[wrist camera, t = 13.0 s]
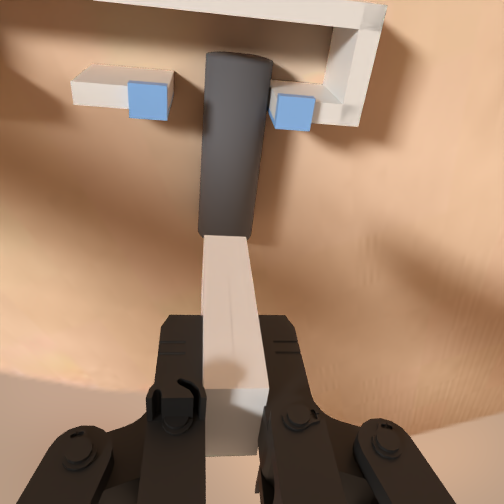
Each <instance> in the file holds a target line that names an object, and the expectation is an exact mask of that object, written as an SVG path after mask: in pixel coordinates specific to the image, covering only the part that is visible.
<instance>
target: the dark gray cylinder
mask: <svg viewBox="0 0 504 504" xmlns="http://www.w3.org/2000/svg"><path fill="white" fill-rule="evenodd" d="M272 67H273V61H272V60H270V59H267V58H264V57H261V56H256V55H251V54H242V53H233V52H209V53H207V54H206V69H205V90H204V112H203V133H202V155H201V177H200V198H199V220H198V232H199V234H200V235H201V236H202V237H203V238H204V235H213V236H239V237H246V239H247V240H248V239H249V238H250V236H251V231H252V223H253V215H254V207H255V199H256V192H257V184H258V176H259V168H260V160H261V153H262V145H263V137H264V129H265V121H266V114H267V106H268V98H269V90H270V82H271V75H272Z"/></svg>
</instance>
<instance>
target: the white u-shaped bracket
mask: <svg viewBox="0 0 504 504" xmlns="http://www.w3.org/2000/svg"><path fill="white" fill-rule="evenodd" d="M95 1H104V2H114V3H123V4H132V5H141V6H150V7H159V8H169V9H178V10H187V11H196V12H205V13H214V14H224V15H233V16H242V17H251V18H260V19H269V20H278V21H288V22H297V23H306V24H315V25H324V26H333V27H334V28H333V33H332V38H331V44H330V49H329V54H328V60H327V65H326V71H325V76H324V81H323V84H315V83H304V82H292V81H281V80H271V82H270V90H269V98H268V106H267V111H268V113H269V115H270V118H271V120H272V122H273V125H274V127H275V129H285V130H298V131H310V127H311V123H316V124H329V125H342V126H354V127H358V125H359V121H360V117H361V113H362V109H363V105H364V101H365V97H366V92H367V88H368V84H369V80H370V76H371V72H372V68H373V64H374V59H375V55H376V51H377V47H378V43H379V39H380V35H381V31H382V26H383V22H384V18H385V14H386V10H387V6H388V5H384V4H379V3H374V2H369V1H364V0H95ZM70 82H71V89H72V97H73V105H84V106H97V107H110V108H123V109H129V118H138V119H151V120H165V121H167V119H168V115H169V112H170V108H171V104H172V100H173V96H174V71H171V70H160V69H149V68H138V67H126V66H115V65H104V64H93V63H92V64H91V65H90V66H88V67H87V68H86V69H85V70H83V71H82V72H81V73H80V74H79V75H77V76H76V77H75V78H74V79H73V80H71V81H70Z"/></svg>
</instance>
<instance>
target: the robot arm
mask: <svg viewBox="0 0 504 504" xmlns="http://www.w3.org/2000/svg"><path fill="white" fill-rule="evenodd" d="M146 411H147V412H146V413H145V414H144V415H143V416H142V417H141V418H140V419H138V420H137V421H135V422H134V423H132V424H130V425H127V426H125V427H122V428H119V429H116V430H113V431H110V432H105V431H104V430H103V429H100V428H98V427H95V426H79V427H76V428H72V429H70V430H68V431H67V432H65V433H64V434H62V435H60V436H59V437H58V438H57V439H56V440H55V441H54V443H53V444H52V445H51V446H50V447H49V449H48V451H47V452H46V454H45V456H44V457H43V459H42V461H41V463H40V464H39V466H38V468H37V469H36V471H35V473H34V474H33V476H32V478H31V479H30V481H29V483H28V485H27V486H26V488H25V490H24V491H23V493H22V495H21V496H20V498H19V500H18V502H17V503H16V504H206V499H205V498H206V497H205V496H206V493H205V492H206V485H205V483H206V481H205V479H206V475H205V457H214V456H245V455H257V449H259V458H260V466H259V471H258V476H257V481H256V488H255V493H259V492H260V502H261V504H456V503H455V502H454V500H453V498H452V497H451V496H450V494H449V493H448V491H447V490H446V488H445V487H444V485H443V484H442V482H441V481H440V480H439V478H438V477H437V475H436V474H435V472H434V471H433V469H432V468H431V467H430V465H429V464H428V462H427V461H426V459H425V458H424V456H423V455H422V454H421V452H420V451H419V449H418V448H417V446H416V445H415V444H414V442H413V440H412V439H411V437H410V436H409V435H408V434H407V433H406V432H405V431H404V430H403V428H401V427H400V426H398V425H397V424H395V423H393V422H392V421H388V420H385V419H381V418H379V419H370V420H368V421H366V422H365V423H363V424H362V426H361V427H358V426H355V425H351V424H348V423H344V422H341V421H338V420H336V419H333V418H331V417H329V416H328V415H326V414H325V413H323V412H322V411H321V410H320V408H319V407H318V406H317V405H316V404H315V402H314V401H313V398H312V395H311V392H310V388H309V384H308V380H307V376H306V372H305V368H304V364H303V360H302V356H301V354H300V348H299V344H298V340H297V336H296V332H295V328H294V326H293V325H292V324H291V322H290V321H289V320H288V319H287V317H286V316H285V315H258V311H257V304H256V298H255V291H254V285H253V278H252V272H251V265H250V259H249V252H248V246H247V239H246V237H239V236H213V235H204V248H203V269H202V291H201V315H169V317H168V318H167V319H166V321H165V322H164V324H163V325H162V327H161V333H160V341H159V349H158V357H157V366H156V374H155V382H154V384H153V385H152V386H151V387H150V389H149V391H148V394H147V397H146ZM258 447H259V448H258Z"/></svg>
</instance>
